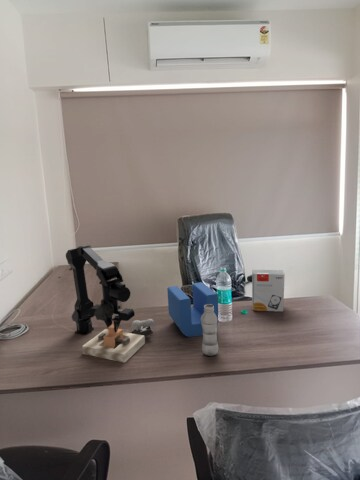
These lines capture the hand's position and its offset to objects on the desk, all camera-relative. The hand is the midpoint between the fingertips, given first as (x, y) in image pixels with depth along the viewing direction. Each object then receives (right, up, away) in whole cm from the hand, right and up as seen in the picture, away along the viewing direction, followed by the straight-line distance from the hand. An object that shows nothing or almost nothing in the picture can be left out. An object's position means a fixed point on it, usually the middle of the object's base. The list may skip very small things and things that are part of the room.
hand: (113, 331), depth 139 cm
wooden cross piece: (0, -5, +1) cm, 5 cm away
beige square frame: (0, -7, +1) cm, 8 cm away
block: (+34, -3, +18) cm, 39 cm away
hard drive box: (+73, +2, +35) cm, 81 cm away
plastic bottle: (+40, -7, -6) cm, 41 cm away
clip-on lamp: (+7, -5, +14) cm, 16 cm away
